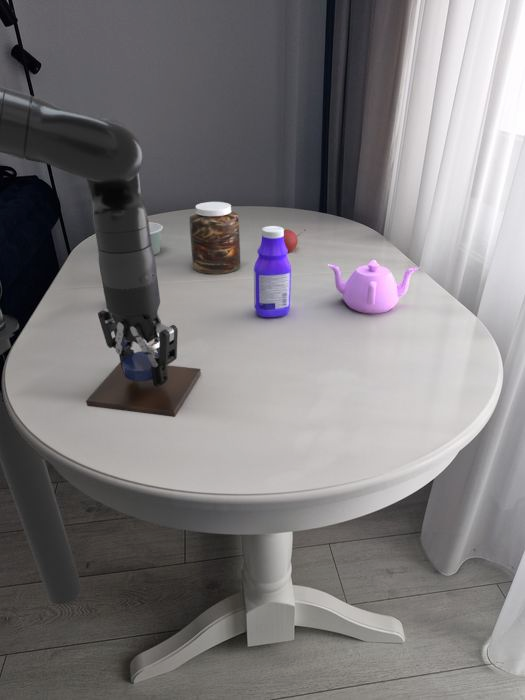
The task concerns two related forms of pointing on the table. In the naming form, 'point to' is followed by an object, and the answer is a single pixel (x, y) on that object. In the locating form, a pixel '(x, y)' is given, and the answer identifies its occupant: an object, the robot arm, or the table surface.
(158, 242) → the food container
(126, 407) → the board
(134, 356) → the lid
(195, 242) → the jar
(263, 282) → the bottle
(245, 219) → the table surface
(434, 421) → the table surface
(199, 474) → the table surface
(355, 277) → the teapot
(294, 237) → the fruit
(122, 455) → the table surface
